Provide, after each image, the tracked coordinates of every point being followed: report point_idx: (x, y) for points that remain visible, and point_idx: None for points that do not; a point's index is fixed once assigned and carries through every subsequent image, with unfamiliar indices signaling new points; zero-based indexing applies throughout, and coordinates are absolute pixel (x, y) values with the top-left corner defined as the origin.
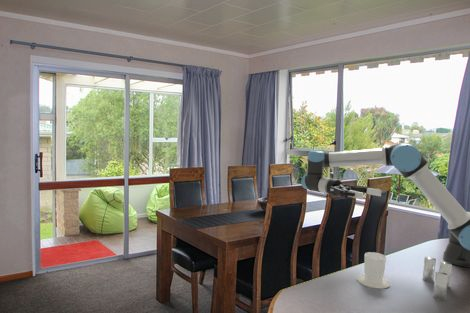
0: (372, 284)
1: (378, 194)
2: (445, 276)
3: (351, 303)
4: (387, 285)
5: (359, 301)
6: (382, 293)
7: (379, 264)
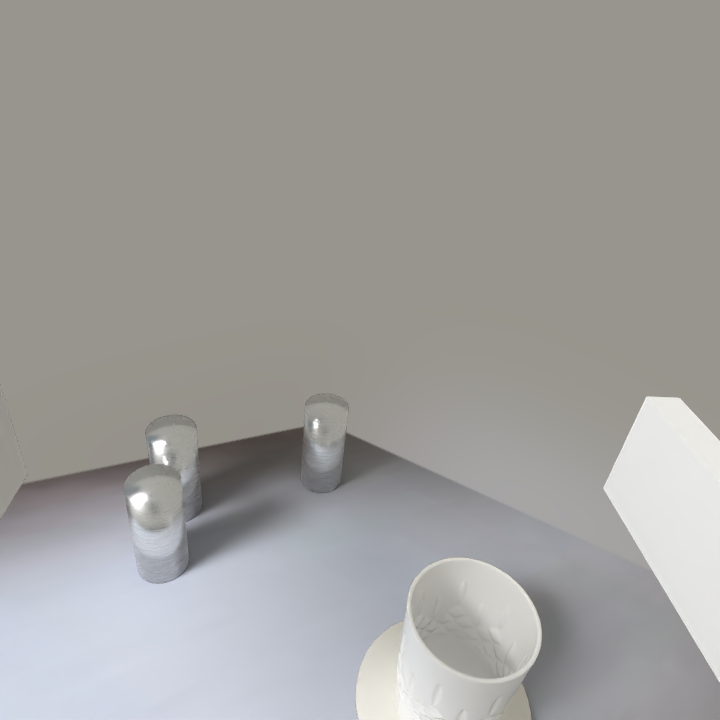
0: None
1: (2, 476)
2: (336, 396)
3: None
4: None
5: (650, 614)
6: None
7: (486, 586)
